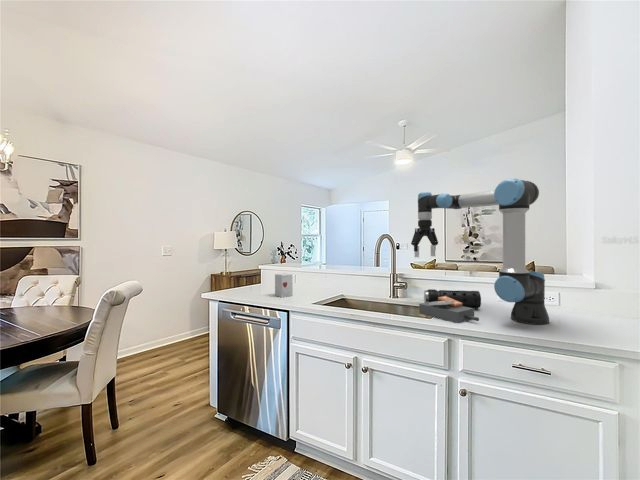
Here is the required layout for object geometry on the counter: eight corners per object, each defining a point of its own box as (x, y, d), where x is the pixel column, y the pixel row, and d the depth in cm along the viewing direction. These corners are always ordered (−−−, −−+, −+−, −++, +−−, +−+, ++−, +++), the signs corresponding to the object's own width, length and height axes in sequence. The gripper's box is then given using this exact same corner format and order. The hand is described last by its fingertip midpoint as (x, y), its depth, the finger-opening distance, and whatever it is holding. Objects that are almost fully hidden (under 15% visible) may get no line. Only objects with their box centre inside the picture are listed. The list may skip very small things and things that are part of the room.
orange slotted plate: (462, 305, 160) (462, 302, 160) (454, 306, 157) (455, 304, 157) (445, 298, 168) (445, 295, 168) (437, 299, 165) (438, 296, 165)
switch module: (486, 321, 150) (486, 309, 150) (469, 326, 143) (469, 313, 143) (435, 310, 174) (435, 299, 174) (419, 313, 167) (419, 302, 167)
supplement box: (281, 297, 214) (281, 275, 214) (274, 295, 221) (274, 274, 221) (293, 296, 220) (292, 274, 220) (285, 294, 227) (285, 272, 227)
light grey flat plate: (454, 303, 156) (453, 300, 157) (446, 304, 153) (445, 301, 153) (437, 303, 165) (436, 301, 165) (429, 305, 161) (428, 302, 162)
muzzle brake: (481, 311, 170) (481, 292, 170) (425, 309, 176) (425, 290, 176) (476, 307, 179) (476, 289, 179) (423, 306, 185) (423, 288, 185)
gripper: (433, 220, 195) (434, 255, 195) (404, 219, 182) (404, 257, 182) (444, 219, 188) (444, 256, 189) (414, 219, 175) (415, 258, 176)
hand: (425, 256), depth 185 cm, fingers open, 13 cm apart
